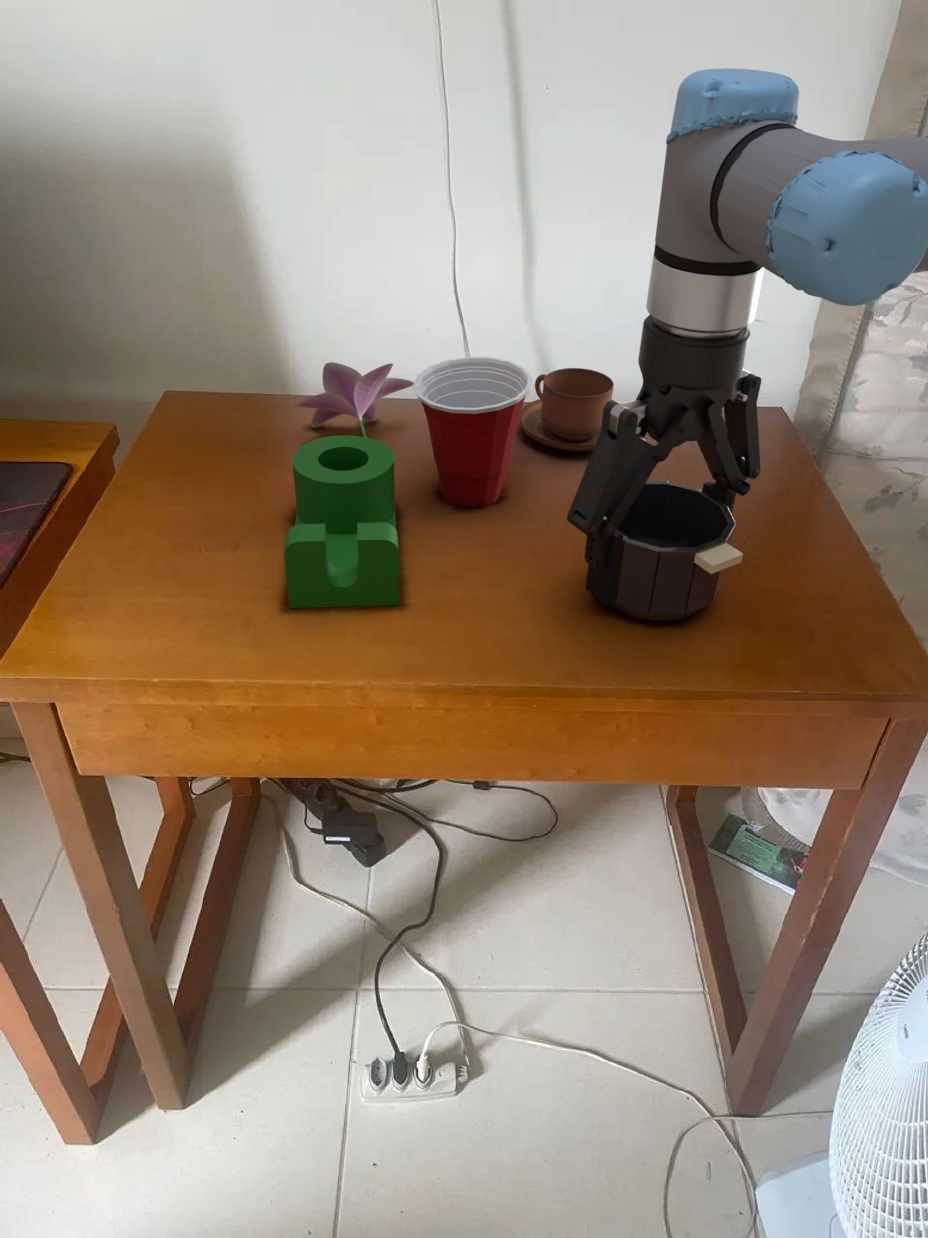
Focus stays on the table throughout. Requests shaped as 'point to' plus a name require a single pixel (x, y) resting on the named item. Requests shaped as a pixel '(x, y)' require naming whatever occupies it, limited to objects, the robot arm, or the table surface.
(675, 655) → the table surface
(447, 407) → the plastic cup
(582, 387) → the cup and saucer
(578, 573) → the table surface
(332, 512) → the green bracket
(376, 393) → the lily
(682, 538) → the cooking pot
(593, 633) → the table surface
